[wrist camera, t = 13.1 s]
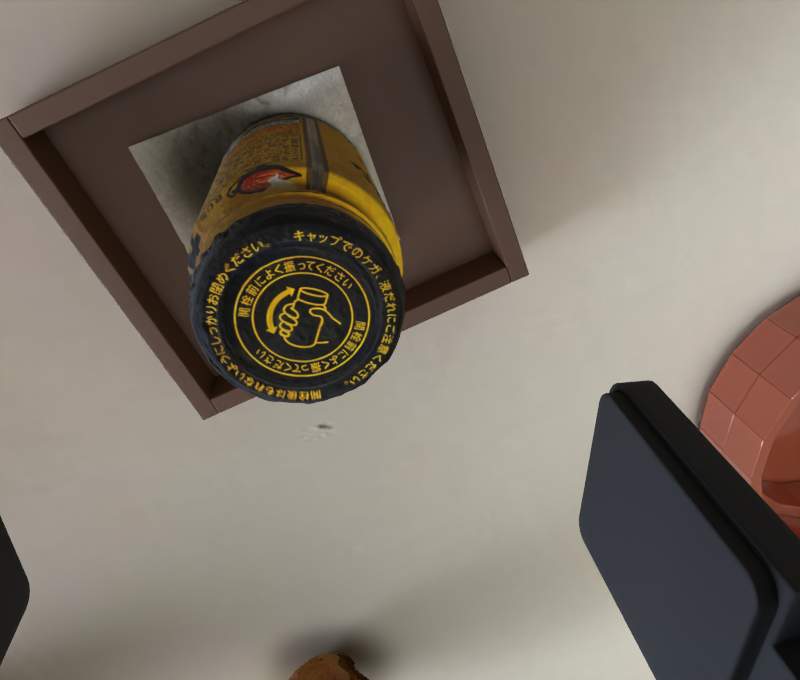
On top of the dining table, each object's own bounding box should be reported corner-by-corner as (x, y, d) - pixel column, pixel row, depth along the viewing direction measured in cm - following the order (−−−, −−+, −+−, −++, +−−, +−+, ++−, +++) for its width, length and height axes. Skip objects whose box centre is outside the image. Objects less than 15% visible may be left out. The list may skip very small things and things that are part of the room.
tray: (399, -72, 22) (410, -81, 20) (511, 254, 29) (529, 274, 26) (13, 115, 23) (-15, 126, 21) (209, 390, 30) (202, 420, 27)
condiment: (399, 238, 27) (470, 383, 16) (217, 306, 27) (173, 494, 17) (338, 64, 23) (378, 110, 13) (129, 145, 23) (1, 254, 13)
